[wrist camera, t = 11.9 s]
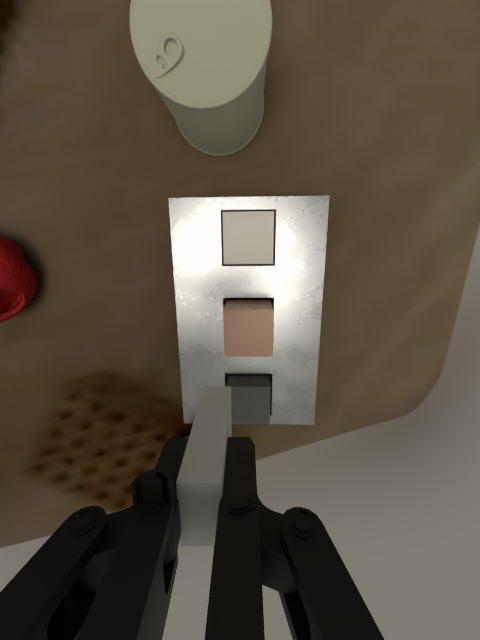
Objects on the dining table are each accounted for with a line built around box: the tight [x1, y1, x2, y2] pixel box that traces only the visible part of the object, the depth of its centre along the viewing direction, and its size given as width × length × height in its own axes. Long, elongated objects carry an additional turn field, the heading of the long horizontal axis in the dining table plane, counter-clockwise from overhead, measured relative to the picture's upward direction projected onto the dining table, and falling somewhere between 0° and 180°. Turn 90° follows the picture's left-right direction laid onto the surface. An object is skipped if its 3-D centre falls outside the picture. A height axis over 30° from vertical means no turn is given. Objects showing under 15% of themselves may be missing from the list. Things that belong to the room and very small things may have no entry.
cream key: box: [222, 211, 274, 264], centre depth 30 cm, size 5×5×5 cm
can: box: [130, 0, 272, 156], centre depth 24 cm, size 9×9×12 cm
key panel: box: [169, 196, 329, 425], centre depth 34 cm, size 16×26×3 cm, turn 1°
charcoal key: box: [227, 373, 271, 425], centre depth 35 cm, size 5×5×5 cm
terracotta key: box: [223, 300, 274, 357], centre depth 31 cm, size 5×5×5 cm
